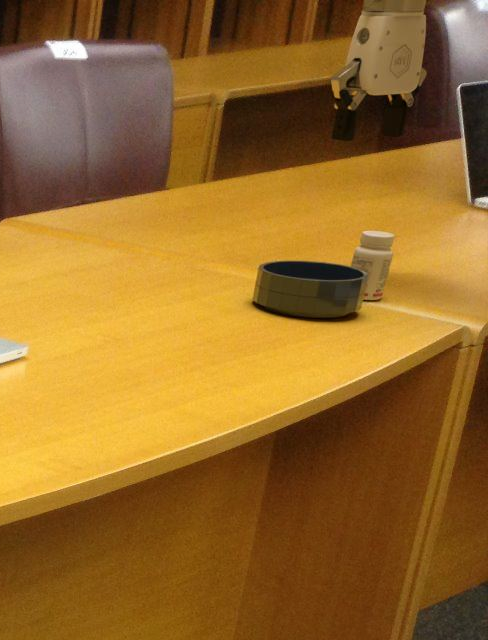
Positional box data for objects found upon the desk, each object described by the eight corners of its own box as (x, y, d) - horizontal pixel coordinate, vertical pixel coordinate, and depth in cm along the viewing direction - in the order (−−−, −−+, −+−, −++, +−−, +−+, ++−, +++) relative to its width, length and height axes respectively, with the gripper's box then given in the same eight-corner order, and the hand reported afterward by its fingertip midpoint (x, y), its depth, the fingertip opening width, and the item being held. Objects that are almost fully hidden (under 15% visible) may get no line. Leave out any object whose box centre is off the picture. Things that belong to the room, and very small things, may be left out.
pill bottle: (372, 292, 211) (388, 230, 207) (387, 301, 206) (404, 238, 203) (337, 291, 211) (353, 229, 207) (352, 300, 206) (368, 236, 203)
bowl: (381, 317, 197) (390, 278, 195) (289, 322, 195) (297, 283, 193) (319, 295, 209) (327, 258, 207) (231, 300, 207) (238, 262, 205)
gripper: (372, 6, 198) (345, 144, 206) (462, 3, 205) (433, 137, 213) (325, 4, 204) (300, 139, 212) (414, 1, 211) (387, 132, 219)
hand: (367, 138), depth 212 cm, fingers open, 9 cm apart
